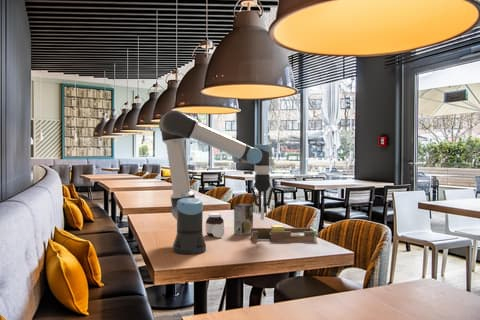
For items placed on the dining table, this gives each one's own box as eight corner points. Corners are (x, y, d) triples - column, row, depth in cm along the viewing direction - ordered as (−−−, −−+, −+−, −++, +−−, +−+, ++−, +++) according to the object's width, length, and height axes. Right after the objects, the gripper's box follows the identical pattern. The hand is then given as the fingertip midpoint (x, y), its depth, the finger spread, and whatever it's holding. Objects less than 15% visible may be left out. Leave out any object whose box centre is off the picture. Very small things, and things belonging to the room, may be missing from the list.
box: (316, 241, 208) (316, 230, 208) (252, 241, 206) (252, 230, 206) (311, 237, 218) (312, 227, 218) (251, 237, 217) (251, 226, 217)
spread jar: (215, 232, 228) (215, 212, 228) (231, 235, 221) (231, 214, 221) (200, 236, 218) (201, 214, 218) (217, 239, 211) (217, 216, 211)
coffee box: (245, 231, 232) (245, 203, 231) (253, 233, 227) (253, 204, 227) (233, 233, 225) (233, 204, 225) (241, 235, 221) (241, 205, 220)
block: (284, 234, 210) (284, 226, 210) (272, 234, 210) (272, 226, 209) (282, 232, 215) (282, 225, 215) (271, 232, 215) (271, 225, 214)
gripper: (273, 173, 215) (273, 217, 216) (249, 173, 214) (249, 218, 215) (275, 174, 208) (275, 220, 208) (250, 174, 207) (250, 220, 208)
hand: (262, 219), depth 212 cm, fingers closed
